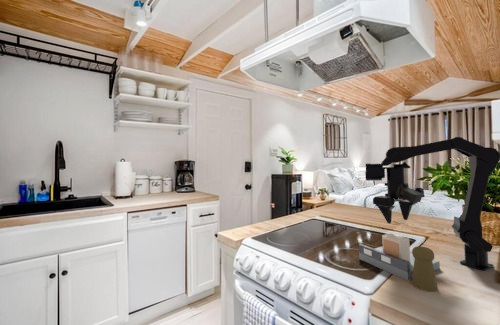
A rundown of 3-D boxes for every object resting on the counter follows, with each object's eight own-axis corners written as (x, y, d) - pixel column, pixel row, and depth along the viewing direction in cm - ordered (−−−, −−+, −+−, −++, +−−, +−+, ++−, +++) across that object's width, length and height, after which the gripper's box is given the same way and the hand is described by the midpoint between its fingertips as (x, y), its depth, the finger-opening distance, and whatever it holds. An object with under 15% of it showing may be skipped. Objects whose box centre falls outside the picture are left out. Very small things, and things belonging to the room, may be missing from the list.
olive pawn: (412, 278, 72) (411, 242, 72) (438, 284, 69) (436, 246, 69) (410, 287, 68) (409, 249, 68) (437, 293, 64) (435, 253, 64)
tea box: (410, 262, 78) (409, 238, 78) (400, 265, 76) (399, 241, 76) (391, 255, 84) (390, 233, 84) (382, 258, 82) (381, 235, 82)
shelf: (388, 251, 94) (388, 237, 94) (439, 268, 78) (438, 252, 78) (359, 259, 88) (358, 244, 88) (407, 280, 71) (406, 262, 71)
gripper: (400, 183, 78) (402, 230, 78) (434, 179, 86) (436, 222, 86) (371, 181, 88) (372, 223, 88) (403, 178, 96) (405, 216, 96)
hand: (397, 221), depth 89 cm, fingers open, 9 cm apart
